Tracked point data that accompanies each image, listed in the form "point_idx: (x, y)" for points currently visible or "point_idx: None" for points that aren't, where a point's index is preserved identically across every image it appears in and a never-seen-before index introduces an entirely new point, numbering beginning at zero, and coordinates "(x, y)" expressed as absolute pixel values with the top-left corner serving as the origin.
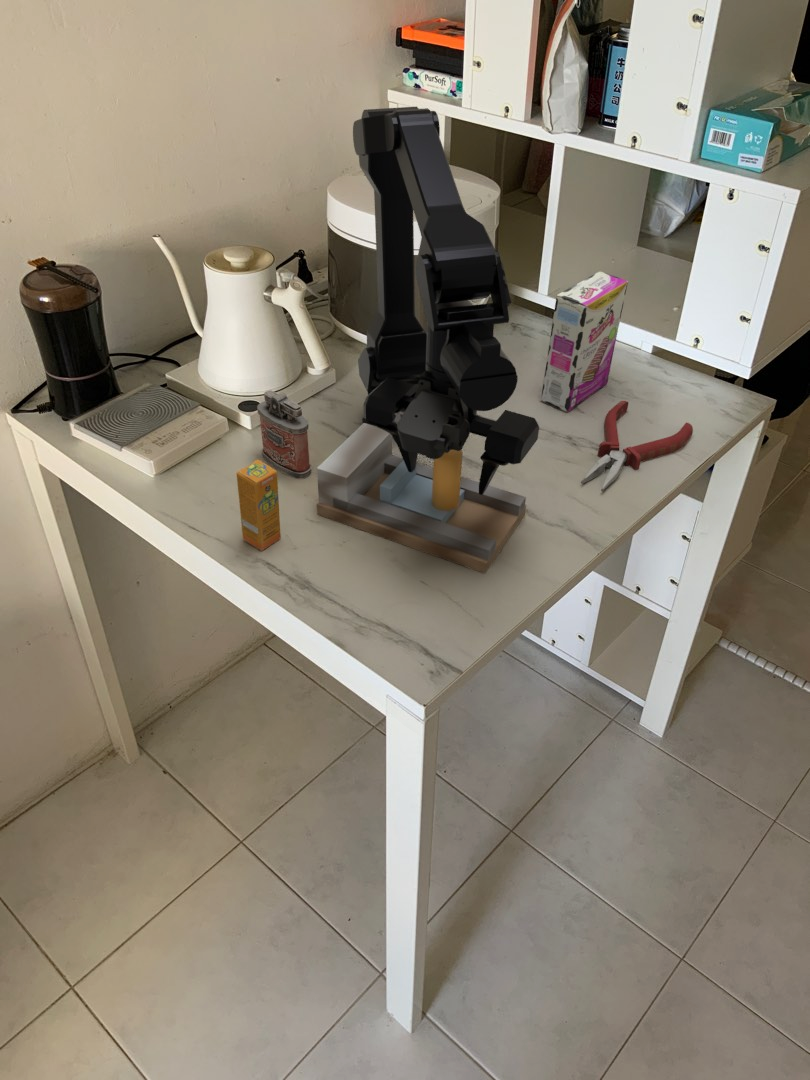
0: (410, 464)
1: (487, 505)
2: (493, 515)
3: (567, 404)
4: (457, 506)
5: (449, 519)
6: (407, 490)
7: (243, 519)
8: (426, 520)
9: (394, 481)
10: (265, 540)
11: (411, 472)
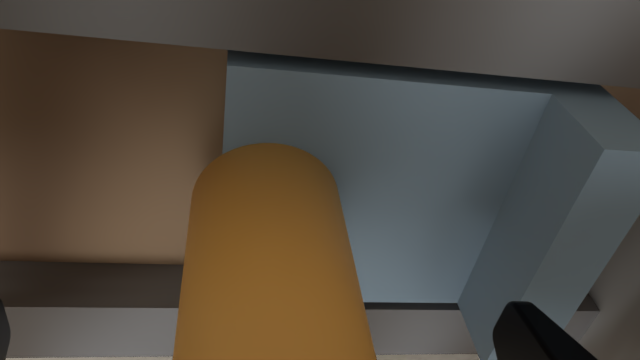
0: (549, 354)
1: (103, 265)
2: (41, 224)
3: None
4: (191, 198)
5: (221, 127)
6: (477, 208)
7: None
8: (312, 25)
9: (586, 216)
10: None
11: (509, 302)
